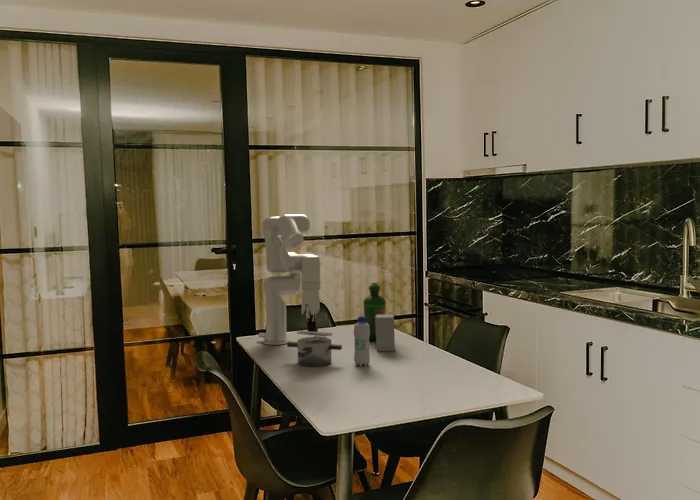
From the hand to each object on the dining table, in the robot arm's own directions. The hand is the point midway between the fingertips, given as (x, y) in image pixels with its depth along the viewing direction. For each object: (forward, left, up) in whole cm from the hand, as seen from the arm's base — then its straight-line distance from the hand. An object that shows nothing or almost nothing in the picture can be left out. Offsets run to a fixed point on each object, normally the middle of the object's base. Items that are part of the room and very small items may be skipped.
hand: (311, 330), depth 247 cm
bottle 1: (+20, +5, -14) cm, 25 cm away
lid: (0, +5, -3) cm, 5 cm away
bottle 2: (+15, +50, -14) cm, 54 cm away
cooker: (0, 0, -14) cm, 14 cm away
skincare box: (+24, +32, -14) cm, 42 cm away
